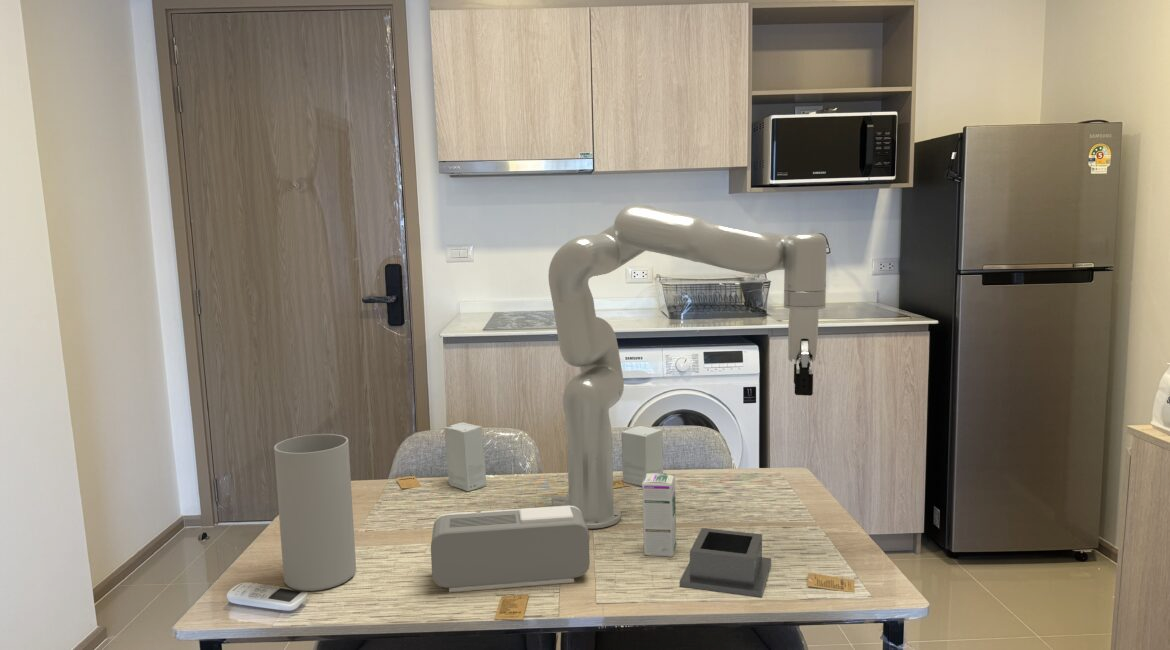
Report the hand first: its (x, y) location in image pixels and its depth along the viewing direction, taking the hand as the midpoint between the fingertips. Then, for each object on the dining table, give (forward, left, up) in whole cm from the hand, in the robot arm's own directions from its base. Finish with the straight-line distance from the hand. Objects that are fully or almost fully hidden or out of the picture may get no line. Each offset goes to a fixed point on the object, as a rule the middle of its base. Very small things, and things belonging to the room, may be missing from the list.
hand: (802, 389), depth 154 cm
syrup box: (-25, -11, -31) cm, 41 cm away
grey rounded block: (-48, -30, -31) cm, 65 cm away
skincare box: (-79, +13, -31) cm, 86 cm away
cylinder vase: (-81, -40, -31) cm, 96 cm away
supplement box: (-39, +28, -31) cm, 57 cm away
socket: (-11, -18, -31) cm, 37 cm away
